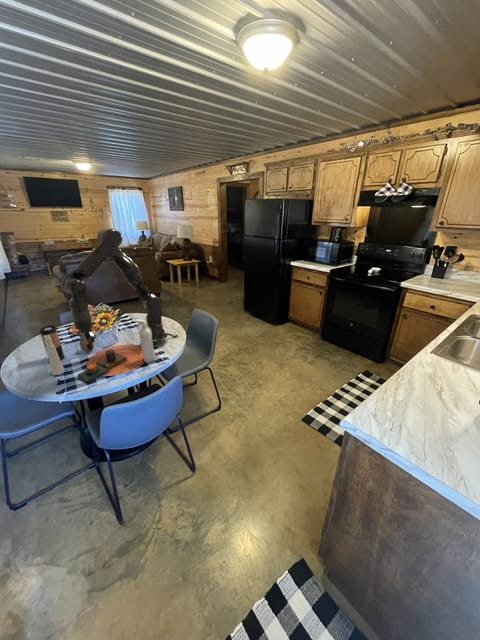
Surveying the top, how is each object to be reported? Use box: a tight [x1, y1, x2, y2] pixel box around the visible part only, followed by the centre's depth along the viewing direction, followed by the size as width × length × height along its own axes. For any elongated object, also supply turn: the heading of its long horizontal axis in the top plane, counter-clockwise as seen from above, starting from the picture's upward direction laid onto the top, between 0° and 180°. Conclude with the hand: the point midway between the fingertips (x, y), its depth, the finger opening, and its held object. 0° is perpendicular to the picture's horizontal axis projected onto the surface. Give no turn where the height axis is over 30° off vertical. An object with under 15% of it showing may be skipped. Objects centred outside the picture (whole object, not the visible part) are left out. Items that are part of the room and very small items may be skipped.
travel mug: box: [39, 325, 65, 361], centre depth 150 cm, size 8×8×20 cm
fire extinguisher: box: [134, 318, 159, 363], centre depth 148 cm, size 7×12×25 cm, turn 61°
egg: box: [79, 338, 95, 353], centre depth 161 cm, size 8×8×11 cm
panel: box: [96, 352, 128, 372], centre depth 149 cm, size 12×10×3 cm
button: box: [87, 364, 96, 371], centre depth 137 cm, size 4×4×2 cm
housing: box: [77, 364, 109, 384], centre depth 138 cm, size 11×9×4 cm
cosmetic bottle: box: [44, 335, 66, 376], centre depth 137 cm, size 6×6×22 cm
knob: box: [104, 349, 116, 362], centre depth 148 cm, size 5×5×5 cm
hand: (90, 349), depth 135 cm, fingers closed
